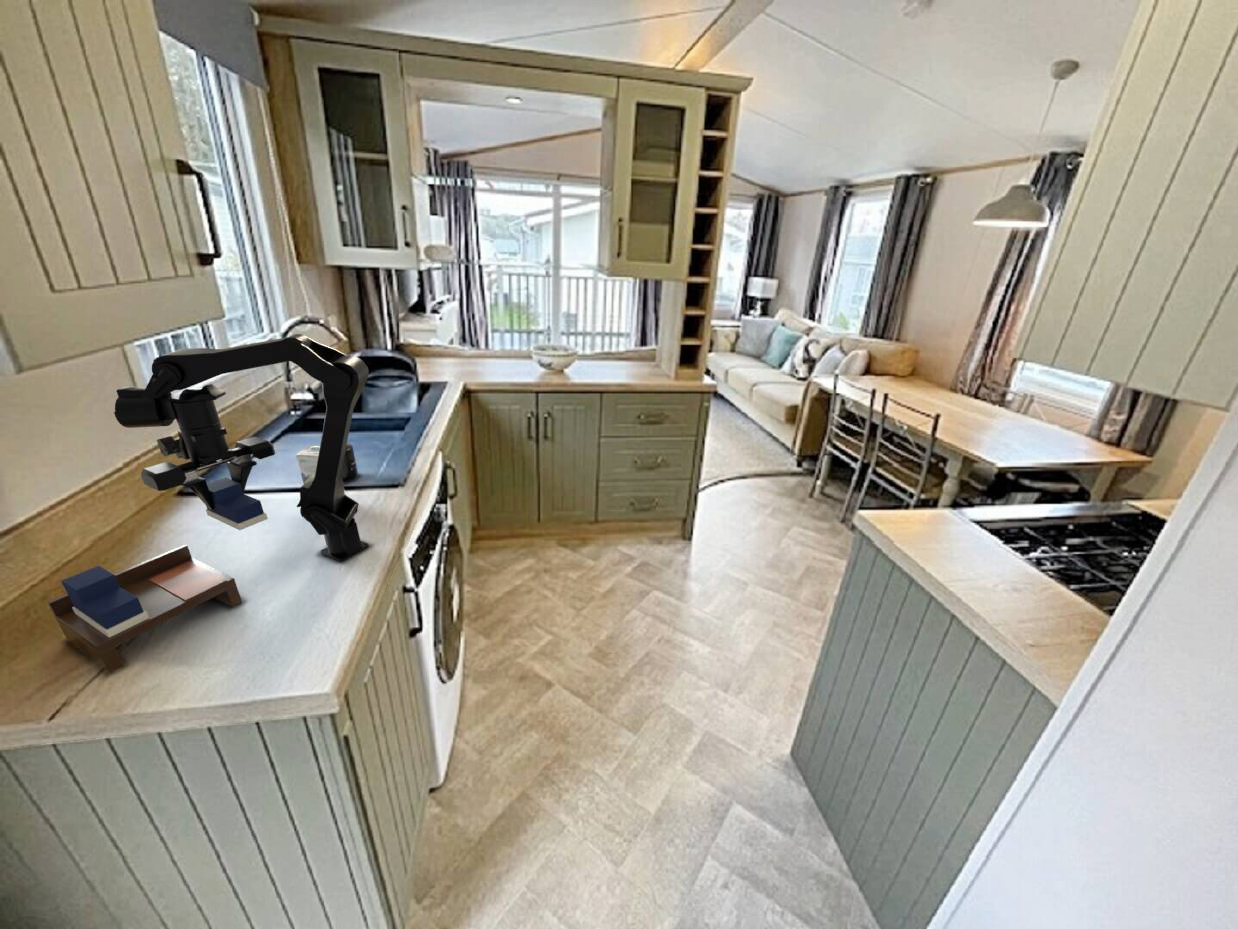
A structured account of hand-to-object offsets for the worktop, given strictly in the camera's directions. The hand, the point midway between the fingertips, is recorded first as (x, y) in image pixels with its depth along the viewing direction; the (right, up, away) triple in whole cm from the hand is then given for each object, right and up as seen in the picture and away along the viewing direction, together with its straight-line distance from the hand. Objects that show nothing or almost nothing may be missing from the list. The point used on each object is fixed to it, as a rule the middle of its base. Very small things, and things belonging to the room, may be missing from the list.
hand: (226, 504), depth 96 cm
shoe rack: (-2, -18, -11) cm, 22 cm away
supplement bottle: (+2, +3, +39) cm, 39 cm away
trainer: (+2, -2, 0) cm, 3 cm away
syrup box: (+6, -3, +24) cm, 25 cm away
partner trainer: (-4, -15, -18) cm, 24 cm away
